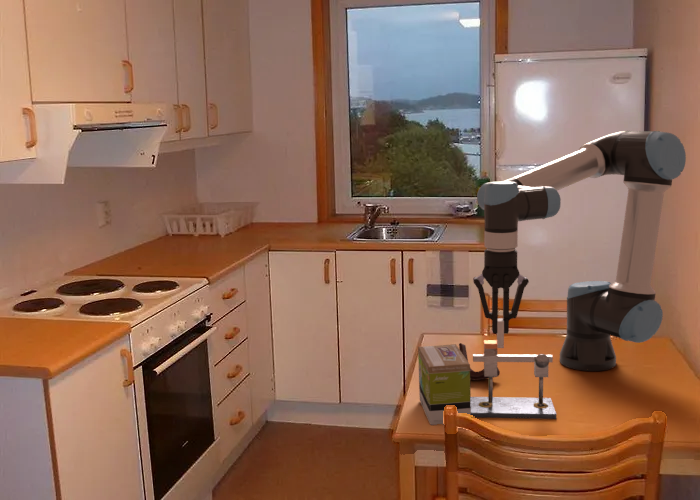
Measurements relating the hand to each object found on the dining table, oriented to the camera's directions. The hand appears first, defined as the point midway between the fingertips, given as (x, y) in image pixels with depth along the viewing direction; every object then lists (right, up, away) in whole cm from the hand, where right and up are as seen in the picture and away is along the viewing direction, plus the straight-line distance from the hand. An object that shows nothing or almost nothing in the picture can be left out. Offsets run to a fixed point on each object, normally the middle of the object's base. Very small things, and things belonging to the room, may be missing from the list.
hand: (500, 346), depth 184 cm
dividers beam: (+3, -14, +2) cm, 14 cm away
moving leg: (-2, -14, +3) cm, 14 cm away
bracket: (-4, -12, +25) cm, 28 cm away
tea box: (-13, -17, +3) cm, 21 cm away
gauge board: (+3, -16, +3) cm, 16 cm away
